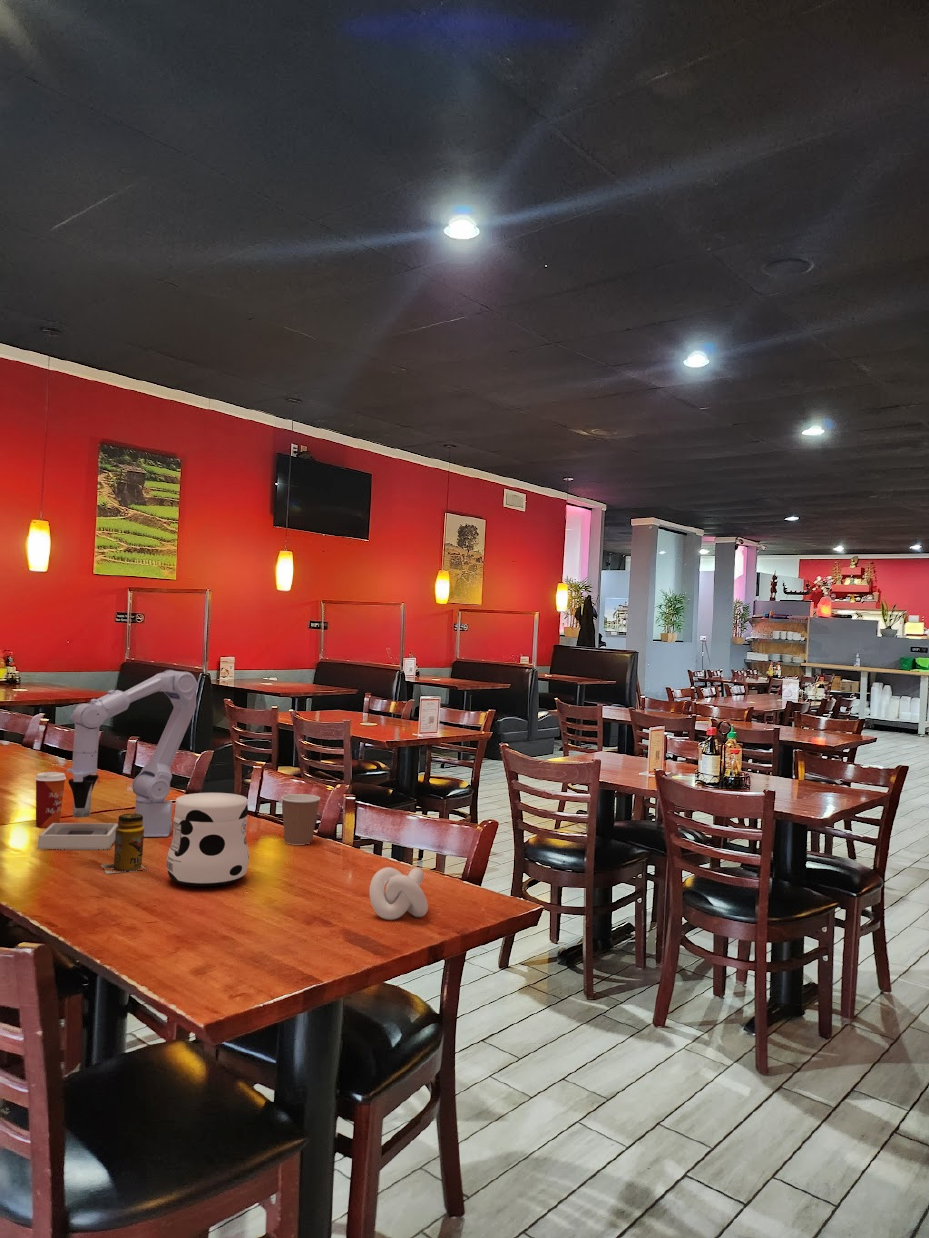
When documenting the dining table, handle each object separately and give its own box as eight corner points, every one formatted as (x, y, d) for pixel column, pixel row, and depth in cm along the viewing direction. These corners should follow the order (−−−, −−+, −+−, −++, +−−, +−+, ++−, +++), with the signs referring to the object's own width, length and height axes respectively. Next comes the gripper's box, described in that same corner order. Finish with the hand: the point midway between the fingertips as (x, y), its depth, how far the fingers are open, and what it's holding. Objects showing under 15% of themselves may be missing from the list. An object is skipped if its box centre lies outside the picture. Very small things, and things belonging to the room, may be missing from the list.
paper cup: (54, 829, 226) (57, 776, 227) (25, 827, 227) (29, 775, 227) (68, 823, 234) (72, 772, 235) (41, 821, 234) (44, 770, 235)
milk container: (262, 876, 193) (266, 796, 194) (220, 896, 176) (225, 809, 177) (195, 866, 198) (199, 789, 198) (148, 886, 181) (153, 801, 182)
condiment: (146, 870, 193) (149, 817, 193) (106, 874, 188) (110, 819, 188) (139, 862, 199) (142, 811, 199) (100, 866, 194) (103, 813, 195)
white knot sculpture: (373, 926, 163) (376, 879, 163) (363, 907, 174) (365, 863, 175) (430, 924, 166) (433, 877, 166) (416, 905, 178) (419, 861, 178)
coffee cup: (322, 839, 230) (324, 795, 231) (311, 848, 220) (314, 802, 221) (285, 837, 231) (287, 792, 232) (273, 845, 221) (275, 799, 222)
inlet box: (118, 836, 222) (119, 823, 222) (108, 849, 209) (109, 835, 209) (51, 836, 219) (52, 822, 219) (37, 850, 205) (38, 835, 205)
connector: (91, 814, 216) (93, 782, 216) (87, 817, 212) (90, 785, 212) (74, 814, 215) (77, 782, 216) (70, 817, 211) (72, 785, 212)
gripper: (74, 747, 220) (71, 800, 220) (61, 755, 206) (57, 811, 206) (103, 748, 222) (100, 800, 222) (92, 756, 208) (89, 811, 208)
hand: (82, 806), depth 214 cm, fingers closed on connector, 4 cm apart
